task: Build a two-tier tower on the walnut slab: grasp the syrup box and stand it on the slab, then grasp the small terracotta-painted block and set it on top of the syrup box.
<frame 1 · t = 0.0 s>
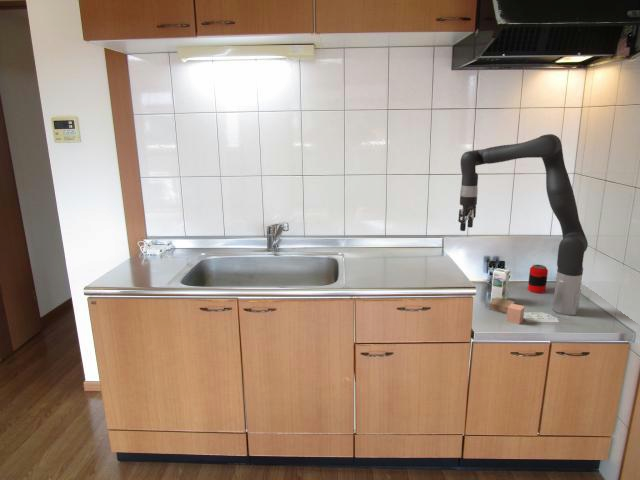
hand: (466, 229, 210), 29 cm above the countertop, fingers open, 8 cm apart
walnut slab: (501, 308, 193), on the countertop
terracotta block: (514, 320, 182), on the countertop
soda can: (536, 291, 212), on the countertop
syrup box: (498, 301, 202), on the countertop
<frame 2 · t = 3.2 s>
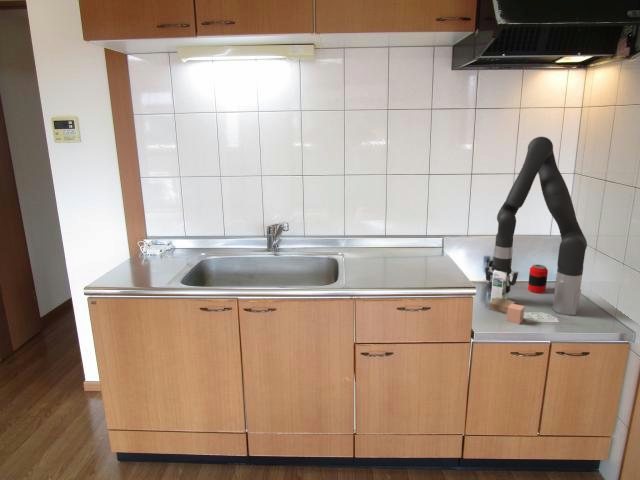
hand: (499, 291, 200), 5 cm above the countertop, fingers closed on syrup box, 6 cm apart
syrup box: (498, 301, 202), on the countertop, touching gripper
everything else where it was.
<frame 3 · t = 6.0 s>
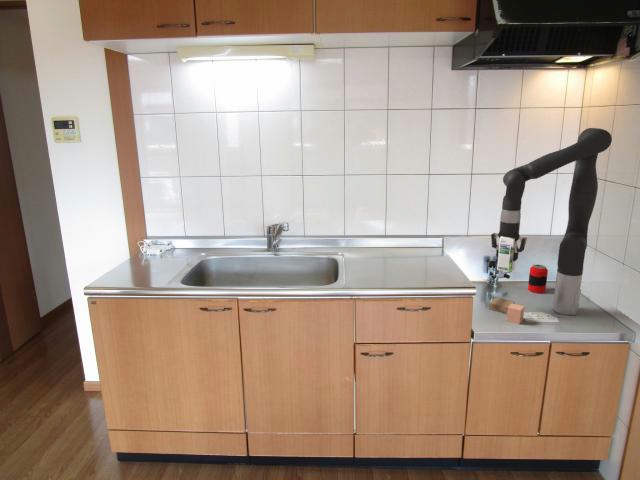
hand: (506, 259, 187), 23 cm above the countertop, fingers closed on syrup box, 6 cm apart
syrup box: (505, 270, 188), point 18 cm above the countertop, touching gripper
everything else where it was.
when the fingers open (9 cm above the countertop, at t = 8.9 s): syrup box drops 1 cm, resting on walnut slab.
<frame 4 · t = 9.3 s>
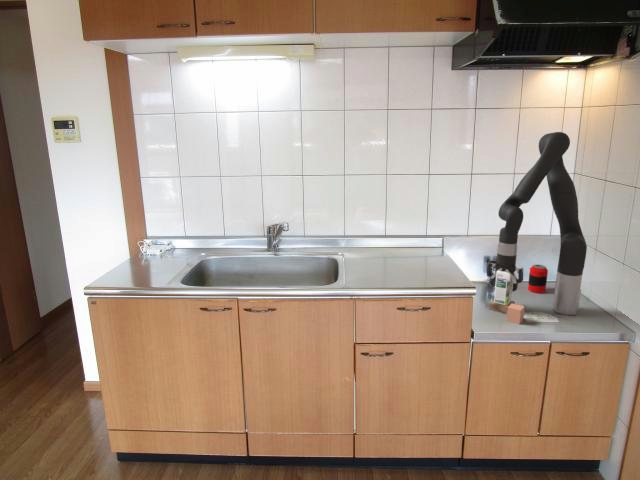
hand: (503, 288, 191), 9 cm above the countertop, fingers open, 8 cm apart
syrup box: (502, 302, 192), point 3 cm above the countertop, touching walnut slab
everything else where it was.
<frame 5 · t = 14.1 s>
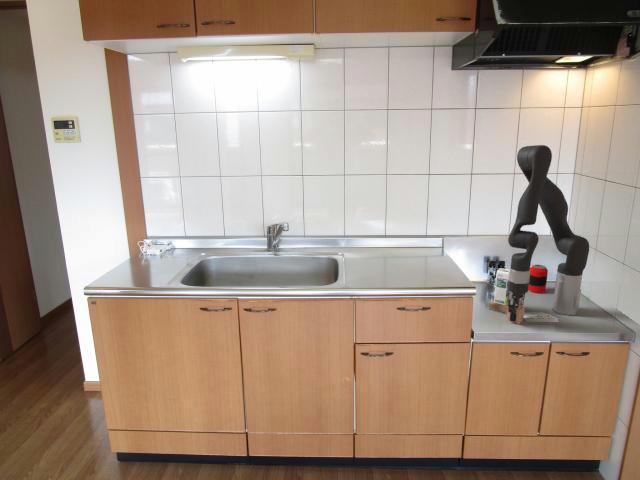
hand: (514, 318, 182), 1 cm above the countertop, fingers closed on terracotta block, 5 cm apart
terracotta block: (514, 320, 182), on the countertop, touching gripper
everything else where it was.
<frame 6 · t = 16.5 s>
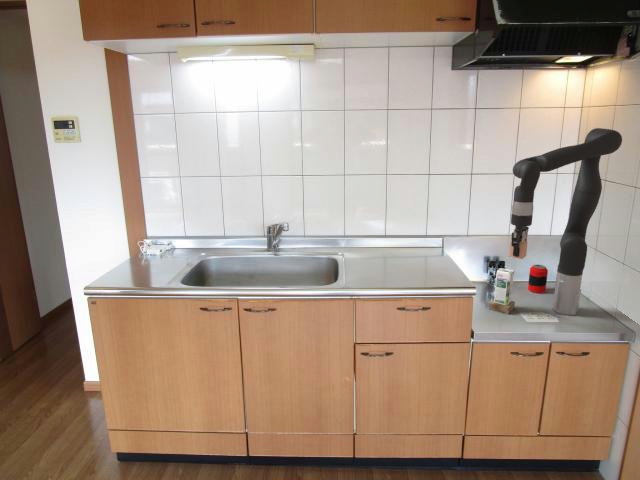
hand: (518, 254, 178), 27 cm above the countertop, fingers closed on terracotta block, 5 cm apart
terracotta block: (517, 256, 178), point 26 cm above the countertop, touching gripper
everything else where it was.
when the fingers open (20 cm above the countertop, at t = 19.2 s): terracotta block drops 2 cm, resting on syrup box.
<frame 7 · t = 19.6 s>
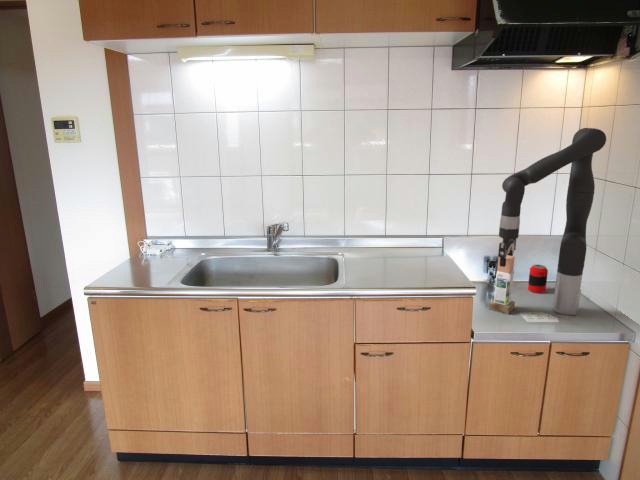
hand: (505, 263, 188), 21 cm above the countertop, fingers open, 8 cm apart
terracotta block: (505, 270, 189), point 17 cm above the countertop, touching syrup box
syrup box: (502, 302, 192), point 3 cm above the countertop, touching terracotta block, walnut slab
everything else where it was.
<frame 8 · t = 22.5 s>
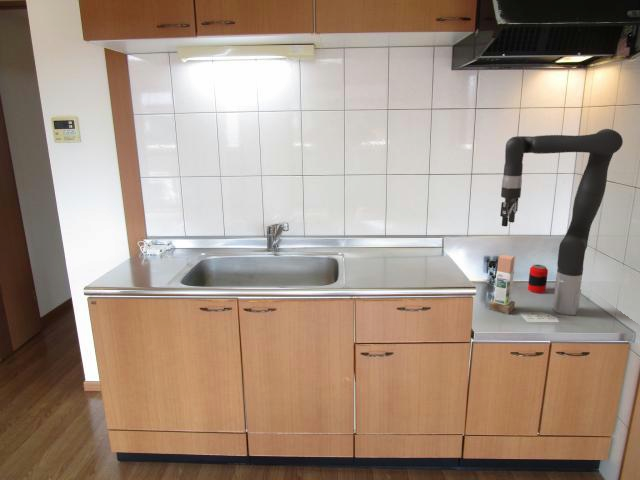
hand: (507, 224, 189), 36 cm above the countertop, fingers open, 8 cm apart
nothing on the countertop moved.
at the end: syrup box inside the target area on the walnut slab (0.1 cm from its centre), point 2.8 cm above the walnut slab's base; syrup box tilted 0°; terracotta block 0.1 cm off-centre on the syrup box, point 14.7 cm above the syrup box's base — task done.
